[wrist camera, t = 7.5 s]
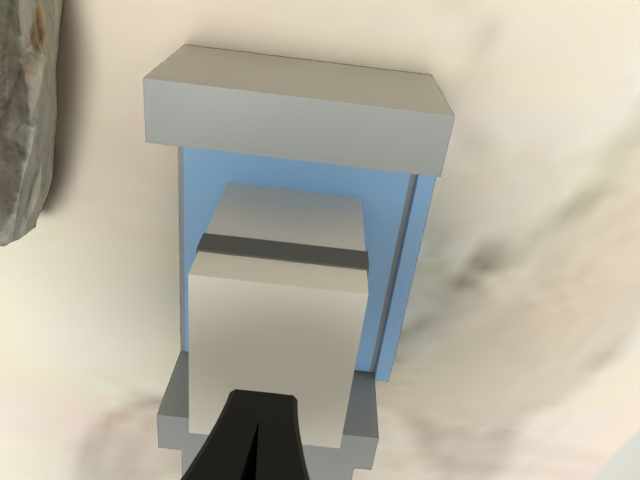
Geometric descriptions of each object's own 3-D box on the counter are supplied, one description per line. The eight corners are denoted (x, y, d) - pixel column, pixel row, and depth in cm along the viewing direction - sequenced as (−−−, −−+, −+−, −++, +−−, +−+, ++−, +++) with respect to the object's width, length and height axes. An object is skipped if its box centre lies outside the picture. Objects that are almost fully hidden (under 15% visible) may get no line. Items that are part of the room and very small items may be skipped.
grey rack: (343, 549, 27) (343, 636, 24) (187, 533, 27) (165, 619, 24) (449, 77, 16) (476, 118, 13) (184, 44, 16) (143, 78, 13)
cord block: (341, 331, 19) (341, 449, 15) (222, 317, 19) (186, 433, 15) (363, 196, 17) (371, 292, 13) (226, 180, 17) (185, 272, 12)
